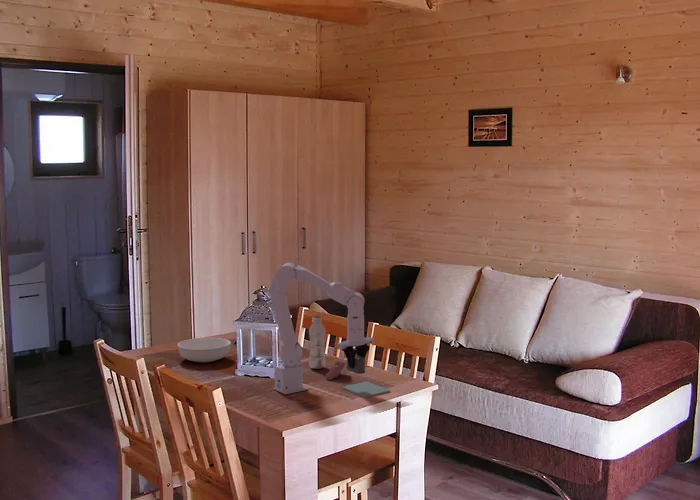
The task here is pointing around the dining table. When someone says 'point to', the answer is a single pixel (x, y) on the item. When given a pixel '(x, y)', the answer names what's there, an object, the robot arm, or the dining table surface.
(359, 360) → the connector plug
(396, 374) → the dining table surface
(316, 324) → the plastic bottle
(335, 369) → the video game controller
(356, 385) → the rubber mat
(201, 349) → the serving bowl
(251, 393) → the dining table surface
